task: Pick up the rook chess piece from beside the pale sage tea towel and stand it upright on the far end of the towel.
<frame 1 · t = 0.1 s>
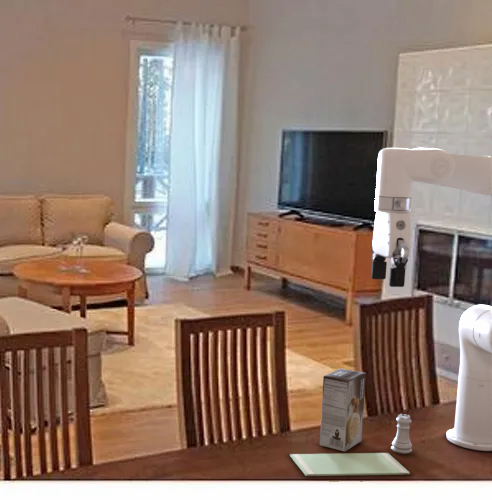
hand: (387, 282, 185), 37 cm above the table, tool pointing down, fingers open, 9 cm apart
coffee box: (340, 444, 189), on the table
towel: (348, 465, 176), on the table
rook chess piece: (401, 451, 185), on the table
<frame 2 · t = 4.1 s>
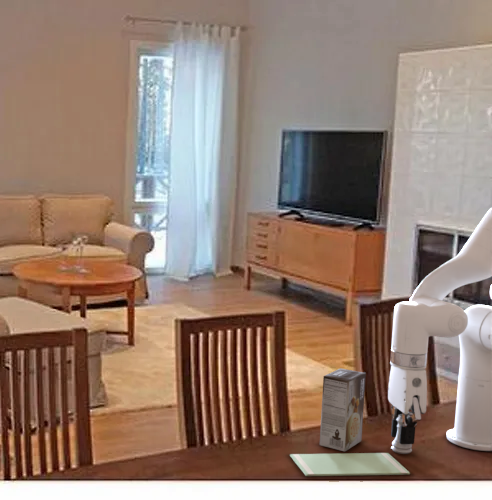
hand: (402, 439, 185), 3 cm above the table, tool pointing down, fingers closed on rook chess piece, 3 cm apart
rook chess piece: (401, 451, 185), on the table, touching gripper
everything else where it was.
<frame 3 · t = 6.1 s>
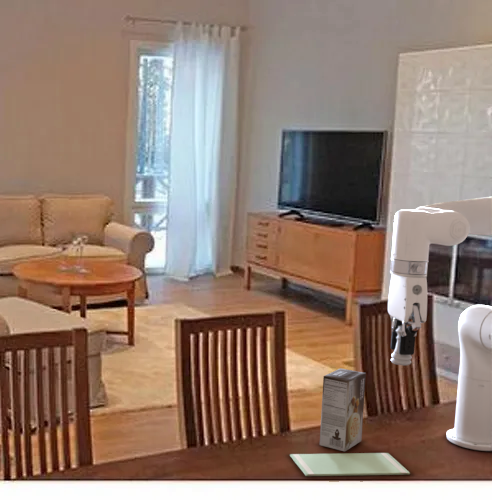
hand: (402, 351, 182), 23 cm above the table, tool pointing down, fingers closed on rook chess piece, 3 cm apart
rook chess piece: (400, 364, 182), point 20 cm above the table, touching gripper
everything else where it was.
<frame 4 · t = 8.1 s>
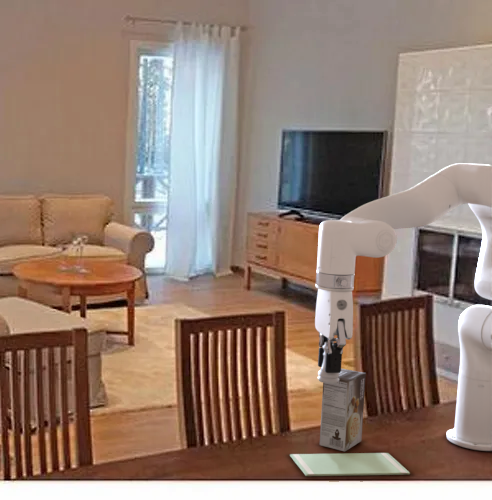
hand: (329, 368, 172), 21 cm above the table, tool pointing down, fingers closed on rook chess piece, 3 cm apart
rook chess piece: (328, 381, 173), point 18 cm above the table, touching gripper
everything else where it was.
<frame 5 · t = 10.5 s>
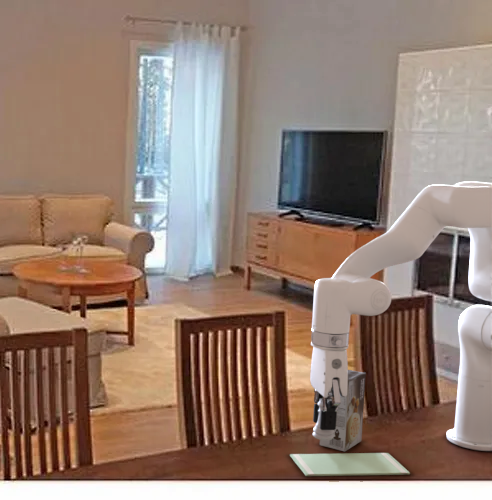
hand: (324, 425, 174), 9 cm above the table, tool pointing down, fingers closed on rook chess piece, 3 cm apart
rook chess piece: (323, 438, 174), point 6 cm above the table, touching gripper
everything else where it was.
when the fingers open (3 cm above the table, at t = 12.2 s): rook chess piece stays where it is, resting on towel.
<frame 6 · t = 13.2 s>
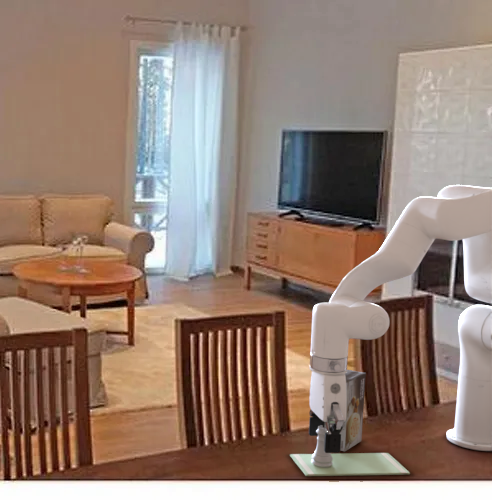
hand: (323, 443, 174), 5 cm above the table, tool pointing down, fingers open, 9 cm apart
rook chess piece: (321, 465, 175), resting on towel
everything else where it was.
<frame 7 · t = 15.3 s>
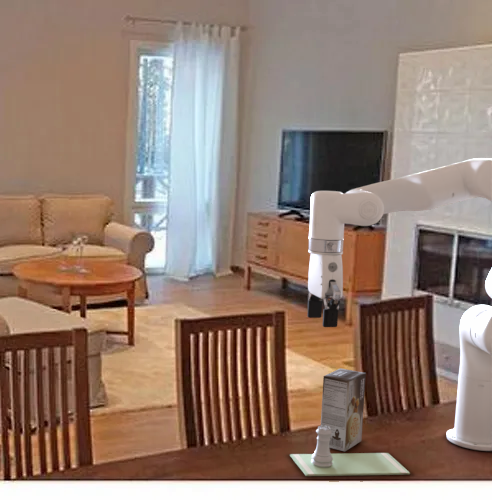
hand: (321, 322, 189), 27 cm above the table, tool pointing down, fingers open, 9 cm apart
nothing on the table moved.
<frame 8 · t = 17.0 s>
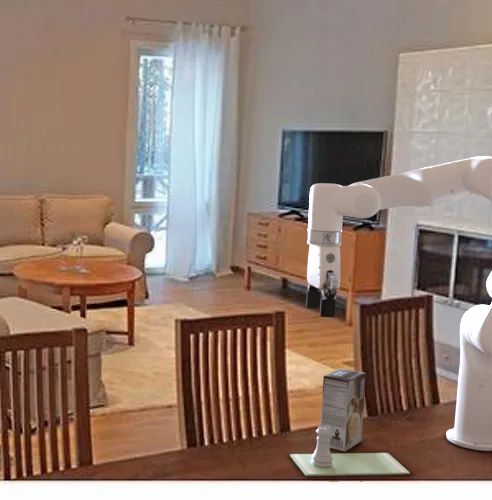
hand: (319, 312, 193), 28 cm above the table, tool pointing down, fingers open, 9 cm apart
nothing on the table moved.
at the end: rook chess piece inside the target area on the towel (0.7 cm from its centre), point 0.2 cm above the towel's base; rook chess piece tilted 0°; the gripper is holding nothing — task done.
